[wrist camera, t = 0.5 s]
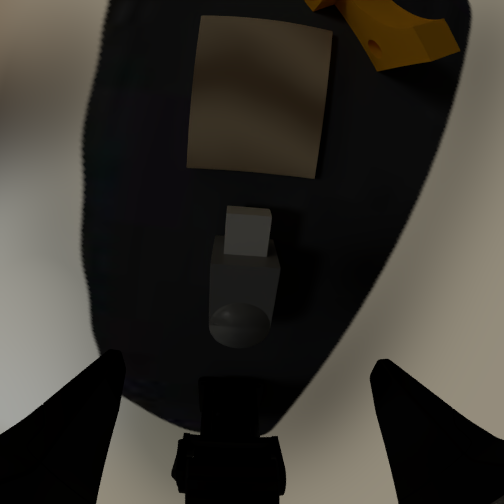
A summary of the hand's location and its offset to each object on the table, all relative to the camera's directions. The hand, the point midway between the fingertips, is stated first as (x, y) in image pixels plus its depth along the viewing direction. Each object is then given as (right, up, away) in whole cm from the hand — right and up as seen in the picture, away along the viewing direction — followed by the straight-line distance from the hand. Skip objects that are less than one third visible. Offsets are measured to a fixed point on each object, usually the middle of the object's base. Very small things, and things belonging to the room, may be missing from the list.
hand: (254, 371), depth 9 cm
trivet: (0, +14, +7) cm, 15 cm away
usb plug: (-1, +4, +12) cm, 12 cm away
